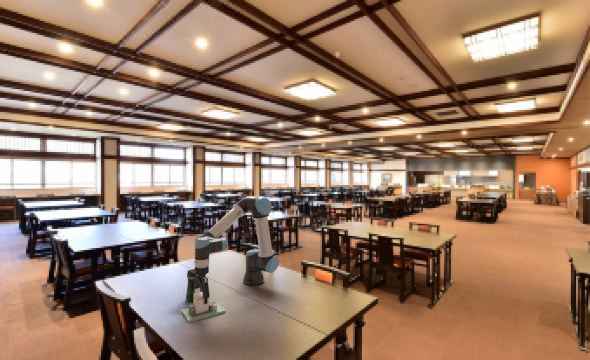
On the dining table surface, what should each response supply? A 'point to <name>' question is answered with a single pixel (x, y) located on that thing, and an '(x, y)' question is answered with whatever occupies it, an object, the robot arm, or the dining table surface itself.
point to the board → (216, 310)
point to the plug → (199, 303)
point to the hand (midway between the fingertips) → (200, 304)
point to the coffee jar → (191, 285)
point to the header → (192, 313)
